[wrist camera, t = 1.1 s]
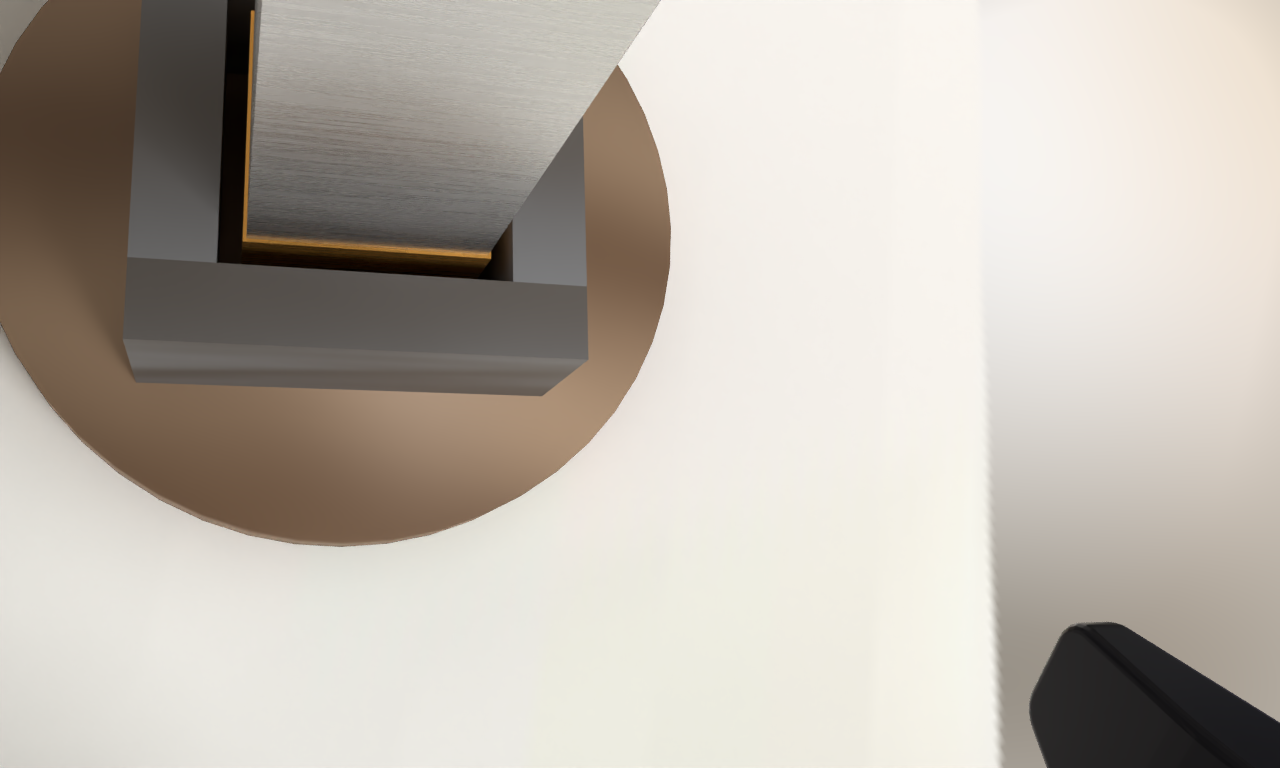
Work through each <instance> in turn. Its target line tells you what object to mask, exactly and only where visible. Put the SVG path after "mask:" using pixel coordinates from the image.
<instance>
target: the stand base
mask: <svg viewBox="0 0 1280 768" xmlns="http://www.w3.org/2000/svg"><path fill="white" fill-rule="evenodd" d="M251 11H255V0H48V1H47V2H46V4H45V5H44V6H43V7H42V8H41V9H40V10H39V12H38V13H37V14H36V16H35V17H34V19H33V20H32V21H31V23H30V24H29V26H28V27H27V28H26V30H25V31H24V33H23V34H22V35H21V37H20V38H19V39H18V41H17V42H16V44H15V46H14V48H13V50H12V51H11V53H10V55H9V57H8V59H7V61H6V63H5V65H4V67H3V69H2V71H1V73H0V322H1V325H2V327H3V329H4V331H5V333H6V335H7V337H8V339H9V341H10V343H11V346H12V348H13V350H14V352H15V354H16V355H17V357H18V358H19V360H20V361H21V363H22V364H23V366H24V367H25V369H26V370H27V372H28V373H29V375H30V376H31V378H32V379H33V381H34V382H35V384H36V385H37V387H38V388H39V390H40V391H41V393H42V394H43V396H44V397H45V399H46V400H47V402H48V403H49V405H50V406H51V407H52V409H53V410H54V411H55V412H56V413H57V414H58V415H59V416H60V418H61V419H62V420H63V421H64V422H65V423H66V424H67V425H68V426H69V428H70V429H71V430H72V431H73V432H74V433H75V434H76V435H77V437H78V438H79V439H80V440H81V441H82V442H83V443H84V444H85V445H86V446H87V447H89V448H90V449H91V450H92V451H93V452H94V453H96V454H97V455H98V456H99V457H100V458H101V459H103V460H104V461H105V462H106V463H107V464H108V465H110V466H111V467H112V468H113V469H114V470H116V471H117V472H118V473H119V474H121V475H122V476H124V477H125V478H127V479H128V480H130V481H131V482H133V483H134V484H136V485H138V486H139V487H141V488H142V489H144V490H145V491H147V492H148V493H150V494H151V495H153V496H154V497H156V498H158V499H159V500H161V501H163V502H165V503H167V504H169V505H172V506H174V507H176V508H178V509H180V510H182V511H184V512H186V513H188V514H190V515H193V516H195V517H197V518H199V519H201V520H203V521H206V522H209V523H212V524H215V525H218V526H222V527H225V528H228V529H231V530H234V531H237V532H240V533H243V534H246V535H250V536H255V537H260V538H266V539H271V540H276V541H281V542H287V543H292V544H303V545H320V546H337V547H345V546H359V545H373V544H387V543H392V542H397V541H402V540H407V539H412V538H417V537H422V536H427V535H431V534H434V533H437V532H440V531H443V530H446V529H449V528H451V527H454V526H457V525H460V524H463V523H466V522H469V521H472V520H474V519H476V518H478V517H480V516H482V515H484V514H486V513H488V512H490V511H492V510H494V509H496V508H498V507H500V506H502V505H504V504H506V503H508V502H510V501H512V500H514V499H516V498H518V497H519V496H521V495H523V494H524V493H526V492H527V491H529V490H530V489H532V488H533V487H535V486H536V485H538V484H539V483H541V482H542V481H544V480H545V479H547V478H548V477H549V476H551V475H552V474H554V473H555V472H557V471H558V470H559V469H560V468H561V467H562V466H564V465H565V464H566V463H567V462H568V461H569V460H570V459H571V458H572V457H574V456H575V455H576V454H577V453H578V452H579V451H580V450H581V449H582V448H584V447H585V446H586V445H587V444H588V443H589V442H590V441H591V439H592V438H593V437H594V436H595V435H596V433H597V432H598V431H599V430H600V429H601V428H602V426H603V425H604V424H605V423H606V422H607V420H608V419H609V418H610V417H611V416H612V415H613V413H614V412H615V411H616V409H617V407H618V406H619V404H620V403H621V401H622V400H623V398H624V396H625V395H626V393H627V392H628V390H629V389H630V387H631V385H632V384H633V382H634V381H635V379H636V377H637V375H638V373H639V371H640V368H641V366H642V364H643V362H644V360H645V357H646V355H647V353H648V351H649V349H650V346H651V344H652V342H653V339H654V335H655V332H656V329H657V325H658V322H659V319H660V315H661V312H662V309H663V305H664V299H665V293H666V287H667V281H668V274H669V268H670V238H671V225H670V215H669V205H668V196H667V188H666V183H665V179H664V175H663V170H662V166H661V162H660V157H659V153H658V150H657V147H656V144H655V141H654V139H653V136H652V133H651V130H650V128H649V125H648V122H647V119H646V117H645V114H644V112H643V110H642V108H641V106H640V104H639V102H638V100H637V98H636V96H635V94H634V92H633V90H632V88H631V86H630V84H629V82H628V80H627V78H626V77H625V75H624V74H623V72H622V71H621V69H620V68H619V66H618V65H617V66H616V67H615V69H614V70H613V72H612V73H611V75H610V76H609V78H608V79H607V81H606V82H605V84H604V85H603V86H602V88H601V89H600V91H599V92H598V94H597V95H596V97H595V98H594V100H593V101H592V103H591V104H590V106H589V107H588V109H587V110H586V112H585V113H584V115H583V116H582V117H581V119H580V120H579V122H578V123H577V125H576V126H575V128H574V129H573V131H572V132H571V134H570V135H569V137H568V138H567V140H566V141H565V143H564V144H563V145H562V147H561V148H560V150H559V151H558V153H557V154H556V156H555V157H554V159H553V160H552V162H551V163H550V165H549V166H548V168H547V169H546V171H545V172H544V174H543V175H542V176H541V178H540V179H539V181H538V182H537V184H536V185H535V187H534V188H533V190H532V191H531V193H530V194H529V196H528V197H527V199H526V200H525V202H524V203H523V204H522V206H521V207H520V209H519V210H518V212H517V213H516V215H515V216H514V218H513V219H512V221H511V222H510V224H509V225H508V227H507V228H506V230H505V231H504V233H503V234H502V235H501V237H500V238H499V240H498V241H497V243H496V244H495V246H494V247H493V249H492V250H491V260H490V261H489V263H488V264H487V265H486V267H485V268H484V270H483V271H482V273H481V274H480V276H479V277H478V278H477V279H464V278H448V277H432V276H417V275H401V274H386V273H370V272H354V271H339V270H323V269H307V268H292V267H276V266H260V265H245V264H241V252H242V225H243V198H244V171H245V144H246V117H247V89H248V62H249V42H250V22H251Z"/></svg>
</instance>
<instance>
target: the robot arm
mask: <svg viewBox="0 0 1280 768" xmlns="http://www.w3.org/2000/svg"><path fill="white" fill-rule="evenodd" d="M1029 714H1030V721H1031V725H1032V728H1033V731H1034V734H1035V737H1036V739H1037V742H1038V745H1039V747H1040V750H1041V753H1042V756H1043V758H1044V761H1045V764H1046V766H1047V768H1280V722H1278V721H1276V720H1275V719H1273V718H1272V717H1270V716H1268V715H1267V714H1265V713H1264V712H1262V711H1260V710H1259V709H1257V708H1256V707H1254V706H1252V705H1251V704H1249V703H1247V702H1246V701H1244V700H1242V699H1241V698H1239V697H1238V696H1236V695H1234V694H1233V693H1231V692H1230V691H1228V690H1227V689H1225V688H1223V687H1222V686H1220V685H1219V684H1217V683H1215V682H1214V681H1212V680H1211V679H1209V678H1207V677H1206V676H1204V675H1202V674H1201V673H1199V672H1198V671H1196V670H1194V669H1193V668H1191V667H1189V666H1188V665H1186V664H1185V663H1183V662H1182V661H1180V660H1178V659H1177V658H1175V657H1173V656H1172V655H1170V654H1169V653H1167V652H1165V651H1164V650H1162V649H1161V648H1159V647H1157V646H1156V645H1154V644H1153V643H1151V642H1149V641H1147V640H1146V639H1145V638H1143V637H1141V636H1140V635H1138V634H1136V633H1135V632H1133V631H1132V630H1130V629H1128V628H1127V627H1125V626H1123V625H1120V624H1117V623H1112V622H1096V623H1095V622H1094V623H1076V624H1073V625H1070V626H1069V627H1068V628H1067V629H1065V630H1064V631H1063V632H1062V634H1061V636H1060V637H1059V639H1058V641H1057V643H1056V645H1055V647H1054V649H1053V651H1052V653H1051V655H1050V657H1049V659H1048V661H1047V663H1046V665H1045V667H1044V669H1043V671H1042V673H1041V675H1040V677H1039V679H1038V681H1037V683H1036V685H1035V687H1034V689H1033V691H1032V693H1031V697H1030V703H1029Z"/></svg>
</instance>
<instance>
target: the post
mask: <svg viewBox="0 0 1280 768" xmlns="http://www.w3.org/2000/svg"><path fill="white" fill-rule="evenodd" d="M660 1H661V0H255V11H251V22H250V42H249V62H248V89H247V117H246V144H245V171H244V198H243V225H242V252H241V264H245V265H260V266H276V267H292V268H307V269H323V270H339V271H354V272H370V273H386V274H401V275H417V276H432V277H448V278H464V279H477V278H478V277H479V276H480V274H481V273H482V271H483V270H484V268H485V267H486V265H487V264H488V263H489V261H490V260H491V250H492V249H493V247H494V246H495V244H496V243H497V241H498V240H499V238H500V237H501V235H502V234H503V233H504V231H505V230H506V228H507V227H508V225H509V224H510V222H511V221H512V219H513V218H514V216H515V215H516V213H517V212H518V210H519V209H520V207H521V206H522V204H523V203H524V202H525V200H526V199H527V197H528V196H529V194H530V193H531V191H532V190H533V188H534V187H535V185H536V184H537V182H538V181H539V179H540V178H541V176H542V175H543V174H544V172H545V171H546V169H547V168H548V166H549V165H550V163H551V162H552V160H553V159H554V157H555V156H556V154H557V153H558V151H559V150H560V148H561V147H562V145H563V144H564V143H565V141H566V140H567V138H568V137H569V135H570V134H571V132H572V131H573V129H574V128H575V126H576V125H577V123H578V122H579V120H580V119H581V117H582V116H583V115H584V113H585V112H586V110H587V109H588V107H589V106H590V104H591V103H592V101H593V100H594V98H595V97H596V95H597V94H598V92H599V91H600V89H601V88H602V86H603V85H604V84H605V82H606V81H607V79H608V78H609V76H610V75H611V73H612V72H613V70H614V69H615V67H616V66H617V64H618V63H619V61H620V60H621V58H622V57H623V56H624V54H625V53H626V51H627V50H628V48H629V47H630V45H631V44H632V42H633V41H634V39H635V38H636V36H637V35H638V33H639V32H640V30H641V29H642V27H643V26H644V25H645V23H646V22H647V20H648V19H649V17H650V16H651V14H652V13H653V11H654V10H655V8H656V7H657V5H658V4H659V2H660Z"/></svg>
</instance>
